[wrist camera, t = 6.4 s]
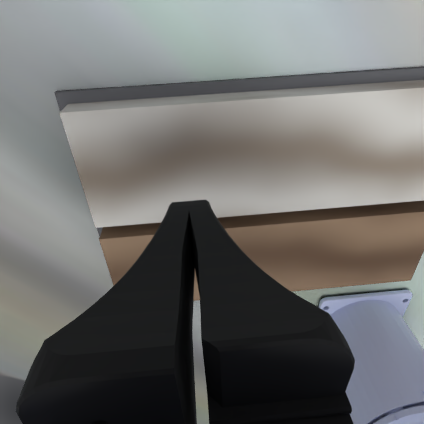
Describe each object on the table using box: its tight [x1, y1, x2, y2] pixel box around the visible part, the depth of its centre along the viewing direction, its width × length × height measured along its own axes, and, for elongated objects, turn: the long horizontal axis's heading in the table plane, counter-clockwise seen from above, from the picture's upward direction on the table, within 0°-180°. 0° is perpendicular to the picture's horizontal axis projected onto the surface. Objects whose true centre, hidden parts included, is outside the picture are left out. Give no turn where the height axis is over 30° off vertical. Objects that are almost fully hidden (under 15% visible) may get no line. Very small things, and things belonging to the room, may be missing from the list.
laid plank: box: [99, 200, 424, 301], centre depth 23 cm, size 6×22×2 cm, turn 92°
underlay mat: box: [55, 67, 424, 236], centre depth 21 cm, size 15×23×1 cm, turn 92°
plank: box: [60, 80, 424, 228], centre depth 19 cm, size 7×22×2 cm, turn 92°
